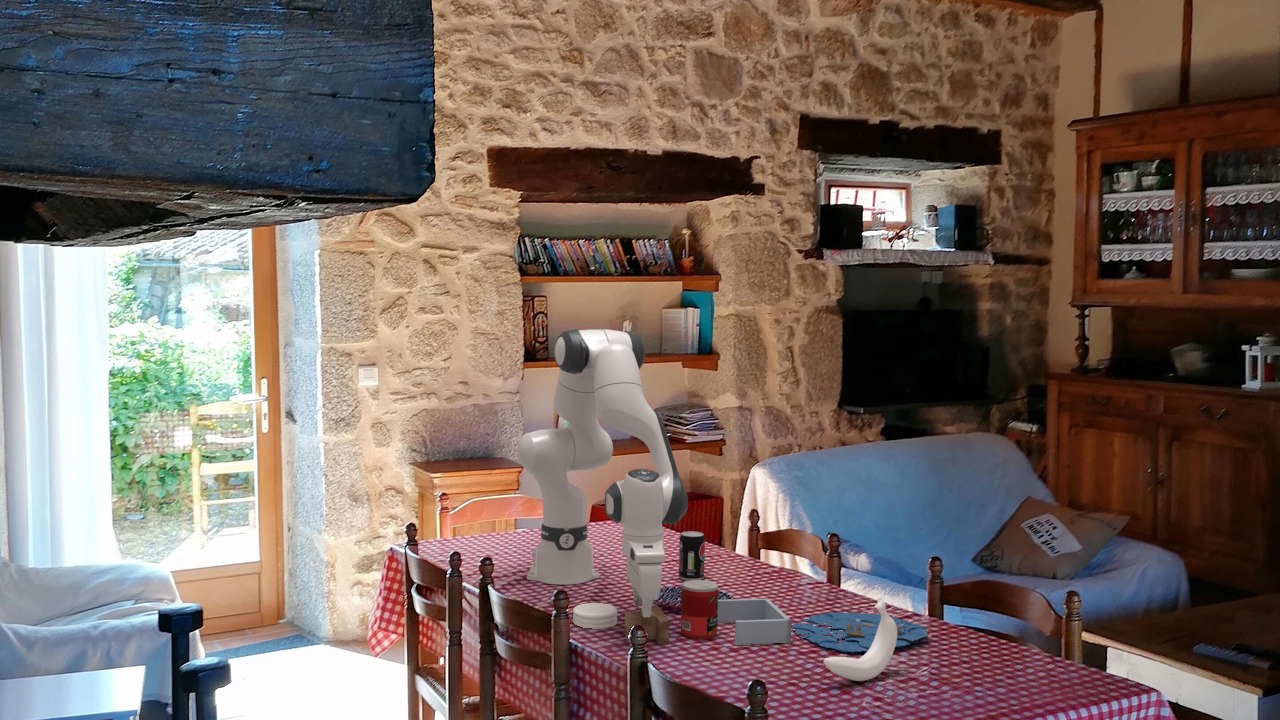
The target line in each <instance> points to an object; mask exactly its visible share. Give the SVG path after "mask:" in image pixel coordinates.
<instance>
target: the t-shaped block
mask: <svg viewBox="0 0 1280 720" xmlns="http://www.w3.org/2000/svg"><path fill="white" fill-rule="evenodd" d="M641 612H642V610H631V611H630V610H629V611H628V610H627V611H624V636H625V637H626V639H627V640H628V635H629V632H630V630H631V628H632V627H633V626H635V625H641V626H643V627H644V628H645V630H646V632H647V634H648V639H647V640H655V641H656V642H657V643H658V645H659V646H661V645H669V642H670V641H669V635H670V621H669V619H668V617H667V616H666V615H665V613H664V612H663V611H662V609H661V608H660V606H659V605H657V604H652V608H651V616H650V617H643V616H642V614H641Z"/></svg>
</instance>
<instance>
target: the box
mask: <svg viewBox="0 0 1280 720" xmlns="http://www.w3.org/2000/svg"><path fill="white" fill-rule="evenodd" d="M725 623H726V624H727V623H728V624H730V623H733V624H734V623H735V630H734V645H735V646H752V645H751V644H762V645H774V644H773V643H788V644H792V619H791V618H790V617H789V616H787V615H786V614H785V613H784V612H783V611H782V610H781V609H780V608H779V607H778V606H777V605H776V604H775V603H773V602H772V601H771V600H770V599H769V598H742V599H741V598H740V599H738V598H737V599H731V598H730V599H718V623H717V624H725ZM767 643H768V644H767ZM771 643H772V644H771Z"/></svg>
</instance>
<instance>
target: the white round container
mask: <svg viewBox="0 0 1280 720" xmlns="http://www.w3.org/2000/svg"><path fill="white" fill-rule="evenodd" d="M572 612H573V615H572V617H573V618H572V622H573V623H574V624H575V625H577V626H580V627H583V628H582V629H584V628H592V629H591V630H604V629H603V628H607V629H611V628H613V627H615V626H616V625H617V624H618V609H617V608H616V606H614V605H612V604H607V603H603V602H601V603H600V602H587V603H580V604H578V605H576V606H575V607H573V609H572ZM573 623H572V624H573ZM574 624H573V625H574ZM575 625H574V626H575ZM577 626H576V627H577ZM580 627H579V628H580ZM610 627H611V628H610ZM600 628H601V629H600Z"/></svg>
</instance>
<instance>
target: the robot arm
mask: <svg viewBox="0 0 1280 720" xmlns="http://www.w3.org/2000/svg"><path fill="white" fill-rule="evenodd" d="M645 349H646V347H645V344H644V341H643V339H642V338H641V336H640V335H639V334H638V333H635V332H632V331H628V330H624V331H620V330H615V329H614V330H613V329H607V328H606V329H605V328H604V329H603V328H600V329H581V330H578V329H577V328H576V329H568V330H565V331H564V330H563V331H562V332H561V333H560V334H559V335H558V337H557V338H556V341H555V345H554V359H555V363H556V365H557V367H558V368H559V373H558V376H557V377H558V378H557V383H556V387H555V393H554V397H553V408H554V411H555V412H556V414H557V415H558V416H559V417H560V418H561V419H562V420H565V421H567V422H568V425H567V427H564V428H546V429H544V428H543V429H538V430H533V431H531V432H527V433H524V434H523V435H522V437H521V438H520V439H519V441H518V444H517V447H516V448H517V449H516V451H517V452H516V453H517V454H516V455H517V458H518V462H519V464H520V465H521V466H522V467H523V469H524V470H526V471H527V472H528V473H530V474H531V475H532V477H534V479H535V481H536V482H537V485H538V487H539V490H540V493H541V497H542V517H543V518H542V523H541V526H540V527H541V528H540V538H541V540H540V542H539V543H538V544H537V545H536V547H535V549H532V551H531V552H532V553H531V554H532V555H531V559H532V560H533V559H534V560H533V563H532V564H531V567H530V569H529V571H528V573H527V575H526V580H529V581H537V582H540V583H543V584H548V585H565V586H566V585H579V584H582V583H586V582H589V581H592V580H595V579H599V578H600V577H601V576H600V575H601V574H600V572H598V571H597V570H596V569H594V547H593V545H592V544H591V543H590V542H589V541H588V533H589V530H588V524H587V523H586V522H587V497H586V494H585V492H584V491H583V490H582V488H580V487H578V486H576V485H574V484H572V483H570V482H569V479H568V472H572V471H573V472H574V471H586V470H587V471H589V470H593V469H596V468H600V467H602V466H603V467H604V466H607V464H608V463H609V462H610V460H611V458H612V456H613V453H614V445H613V440H612V439H611V436H610V435H609V433H608V432H607V431H606V430H605V429H604V428H603V427H601V425H600V423H599V418H600V419H601V420H602V421H603V422H604V423H605V424H606V425H608V426H609V427H611V428H613V429H615V430H617V431H619V432H622V433H625V434H628V435H629V436H634V437H635V438H637V439H639V440H641V441H642V442H643V443H644V444H645V445H646V446H647V448H648V450H649V452H650V456H651V460H652V462H653V466H654V470H655V471H654V470H652V469H647V468H635V469H631V470H629V471H627V473H626V474H625V477H624V479H622V480H618V481H614V482H612V484H611V485H610V486H609V487H608V488H607V489H606V491H605V493H604V494H605V495H604V499H605V500H604V512H605V515H606V517H608V518H609V519H610V520H611V521H612V522H614V523H615V524H620V525H621V524H622V525H623V528H622V534H621V535H622V539H621V540H622V541H621V542H622V544H621V546H622V547H621V548H622V549H621V554H622V555H623V556H625V557H626V578H627V580H628V581H629V583H630V584H631V589H632V595H633V602H632V603H633V604H634V605H635V606H641V611H642V612H641V614H642V616H643V617H650V616H651V608H652V605H654V601H657V600H659V598H660V595H661V591H662V589H661V588H662V578H663V577H662V576H663V563H665V562H666V552H665V549H664V548H665V547H664V543H665V542H664V539H665V538H664V532H665V531H664V528H663V525H675V524H676V523H678V522H679V521H680V520H681V519H682V518H683V517H684V516H685V514H687V511H688V508H689V497H688V493H687V490H686V488H685V485H684V483H683V481H682V478H681V476H680V473H679V470H678V467H677V464H676V460H675V457H674V454H673V451H672V446H671V443H670V440H669V437H668V434H667V431H666V430H667V429H666V428H665V424H664V422H663V420H662V417H661V415H660V414H659V412H657V411H656V410H653V408H652V407H651V406H650V405H649V403H648V401H647V400H646V397H645V395H644V394H645V393H644V392H643V386H642V385H643V384H642V378H641V373H640V369H641V368H642V366H643V365H644V362H645V357H646V350H645ZM598 416H599V418H598Z"/></svg>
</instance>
